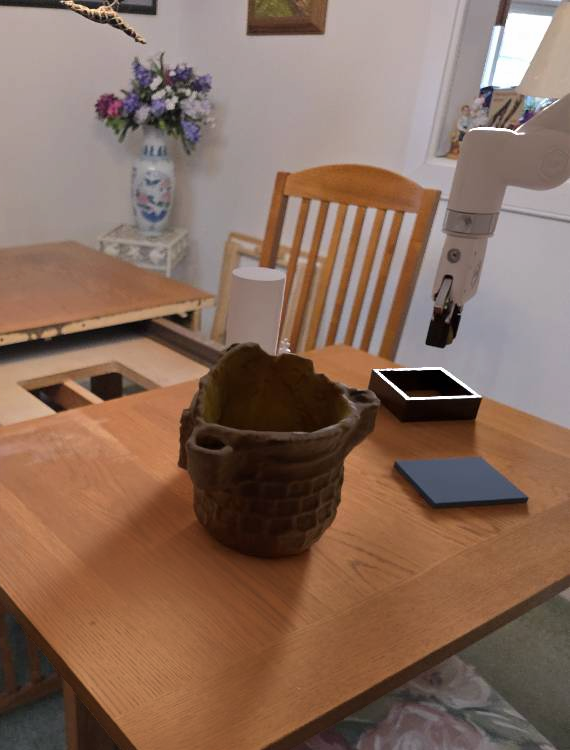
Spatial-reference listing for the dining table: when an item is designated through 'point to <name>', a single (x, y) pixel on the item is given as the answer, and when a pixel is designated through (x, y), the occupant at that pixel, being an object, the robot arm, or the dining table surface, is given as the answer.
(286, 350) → the chess piece
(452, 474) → the mat
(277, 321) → the cylindrical container
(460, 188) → the robot arm
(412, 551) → the dining table surface
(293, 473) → the ceramic vessel
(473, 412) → the basin
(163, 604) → the dining table surface
